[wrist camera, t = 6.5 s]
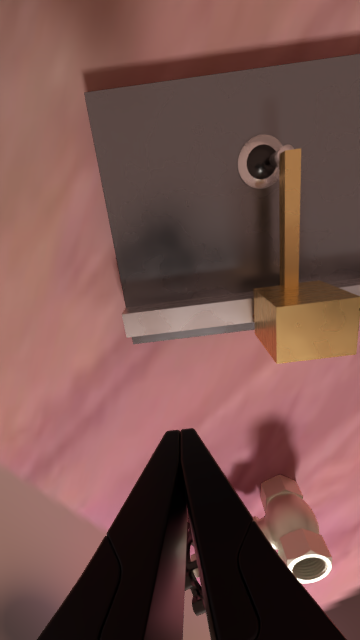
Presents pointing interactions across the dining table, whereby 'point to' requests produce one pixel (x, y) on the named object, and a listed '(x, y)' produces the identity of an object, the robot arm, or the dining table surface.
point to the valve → (278, 537)
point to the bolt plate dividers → (226, 190)
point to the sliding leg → (301, 289)
